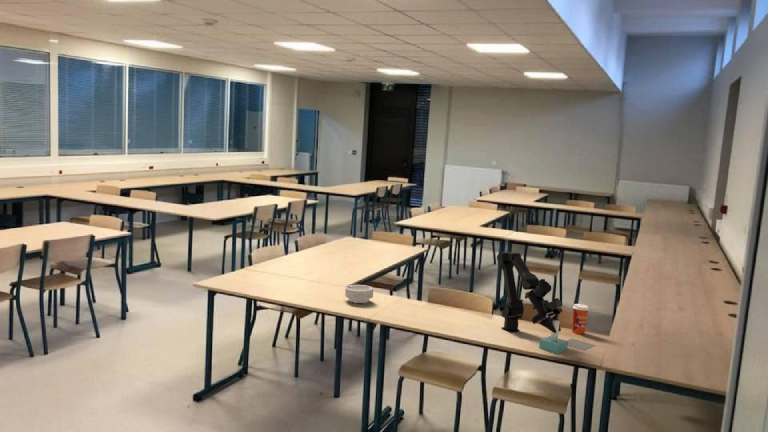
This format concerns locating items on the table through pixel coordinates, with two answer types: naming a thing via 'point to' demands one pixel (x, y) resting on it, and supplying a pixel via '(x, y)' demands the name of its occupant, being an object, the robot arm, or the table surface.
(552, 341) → the teal cover
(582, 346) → the grey mat
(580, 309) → the paper cup
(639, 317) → the table surface
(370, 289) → the light grey bowl
